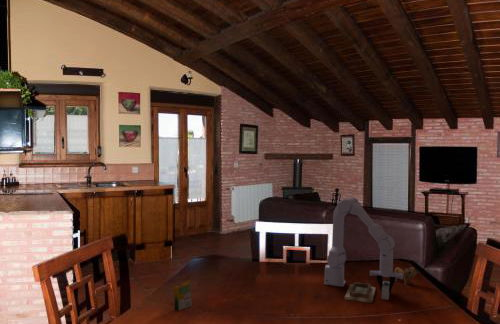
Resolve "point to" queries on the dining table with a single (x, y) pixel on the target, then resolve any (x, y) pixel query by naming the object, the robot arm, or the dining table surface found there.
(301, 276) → the dining table surface
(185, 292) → the crayon box
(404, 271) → the lion figurine
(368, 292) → the cradle jig
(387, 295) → the grey pillar with nub
